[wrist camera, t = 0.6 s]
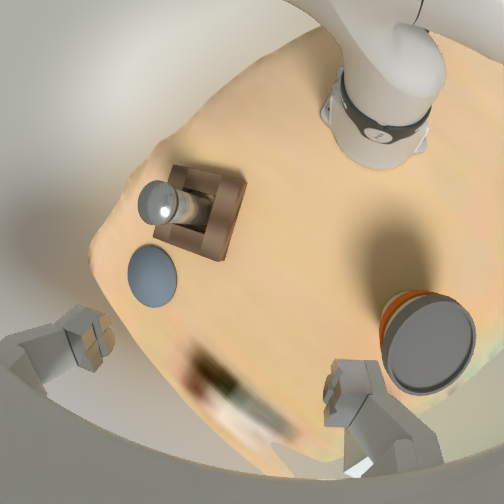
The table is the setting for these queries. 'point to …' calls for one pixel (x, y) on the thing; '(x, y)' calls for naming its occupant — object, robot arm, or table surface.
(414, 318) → the reusable coffee cup
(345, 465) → the supplement box
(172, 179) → the walnut socket block
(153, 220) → the steel plug
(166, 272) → the slate rubber mat
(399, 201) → the table surface
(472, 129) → the table surface
